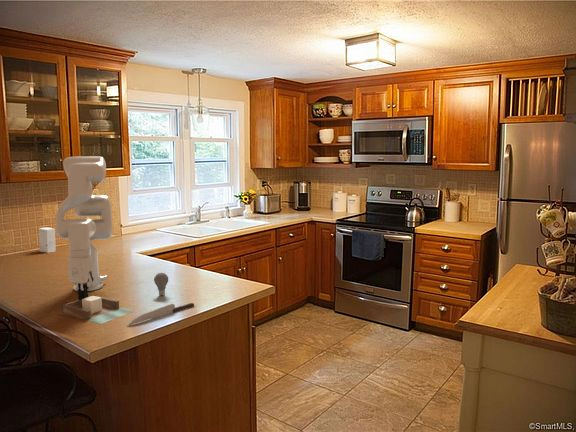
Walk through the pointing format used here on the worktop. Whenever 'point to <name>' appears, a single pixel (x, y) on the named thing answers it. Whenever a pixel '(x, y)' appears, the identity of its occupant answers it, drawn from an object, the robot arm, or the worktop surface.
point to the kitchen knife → (159, 312)
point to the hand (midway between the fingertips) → (83, 299)
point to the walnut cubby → (106, 314)
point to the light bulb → (161, 282)
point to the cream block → (92, 304)
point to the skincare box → (47, 240)
